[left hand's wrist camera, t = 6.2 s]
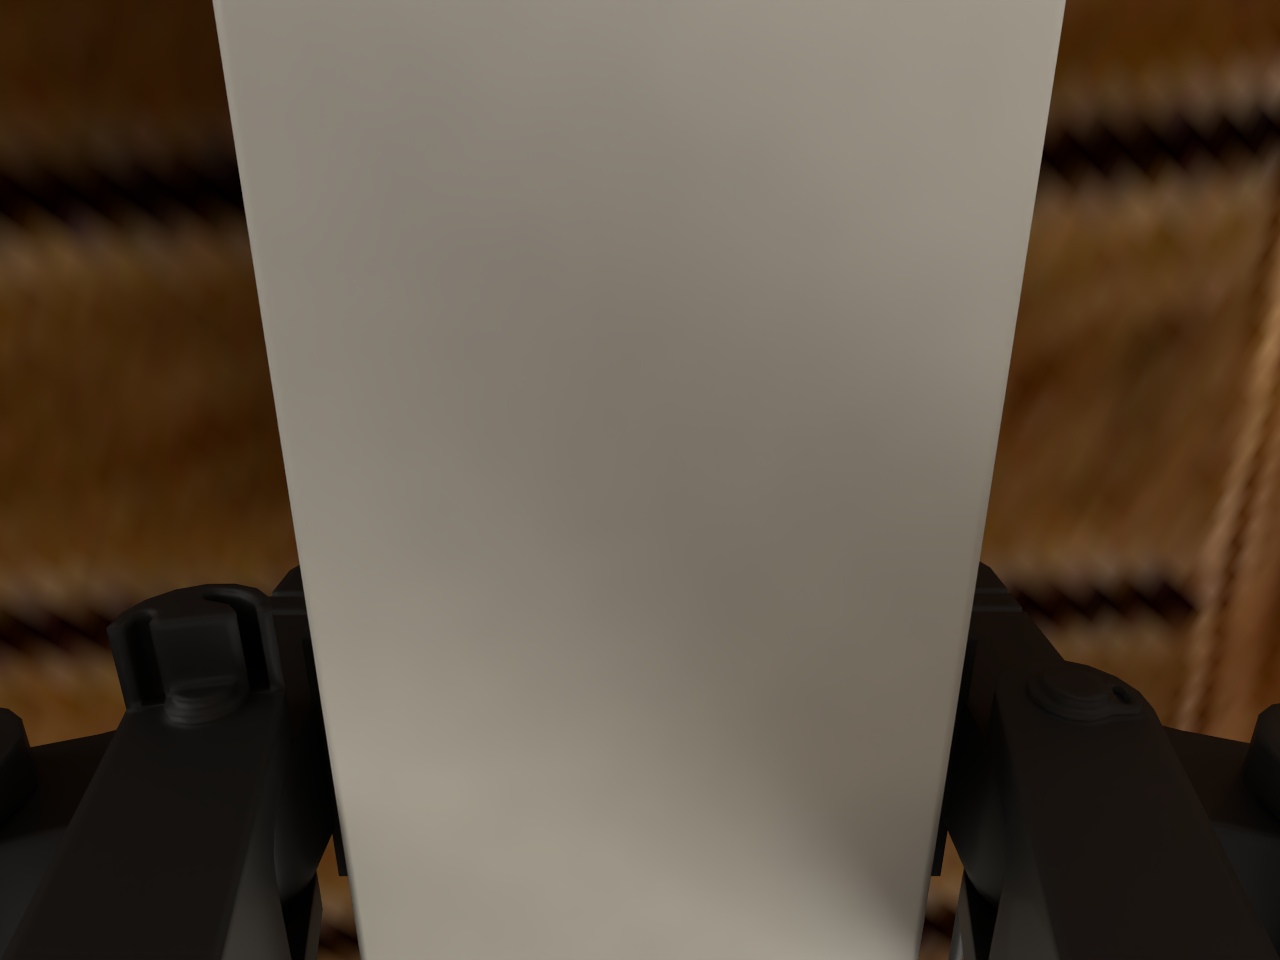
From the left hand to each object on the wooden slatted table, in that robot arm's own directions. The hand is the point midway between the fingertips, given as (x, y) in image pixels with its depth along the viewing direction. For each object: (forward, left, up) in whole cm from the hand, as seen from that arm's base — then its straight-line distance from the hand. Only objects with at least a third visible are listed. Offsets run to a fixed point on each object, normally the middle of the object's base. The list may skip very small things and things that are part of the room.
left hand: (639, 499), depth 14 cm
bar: (+3, +25, -1) cm, 25 cm away
